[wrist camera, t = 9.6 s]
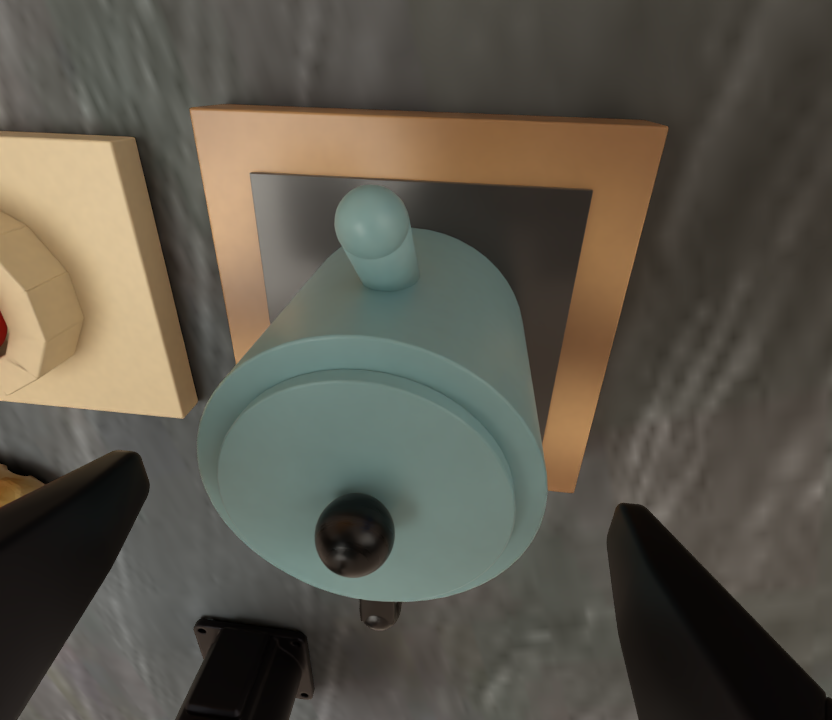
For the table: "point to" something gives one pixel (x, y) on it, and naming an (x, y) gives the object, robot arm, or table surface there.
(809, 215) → the table surface
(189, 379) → the switch block
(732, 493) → the table surface
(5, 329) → the button
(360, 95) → the table surface
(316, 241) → the stand
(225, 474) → the kettle
